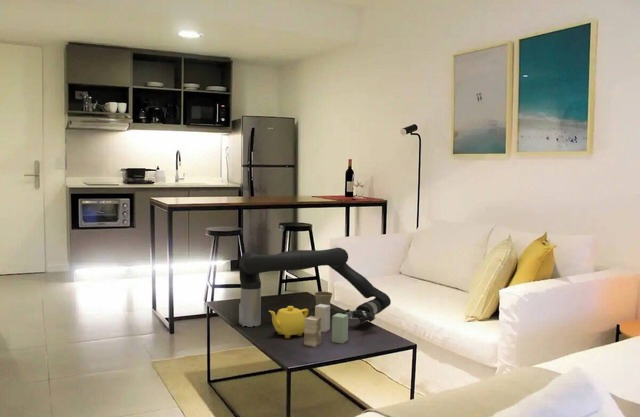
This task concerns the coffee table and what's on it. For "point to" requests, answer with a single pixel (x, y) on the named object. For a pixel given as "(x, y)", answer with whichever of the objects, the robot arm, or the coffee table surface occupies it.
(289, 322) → the teapot
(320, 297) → the flower pot
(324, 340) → the coffee table surface
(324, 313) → the offwhite pillar
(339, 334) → the sage pillar
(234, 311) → the coffee table surface
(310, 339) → the birch pillar
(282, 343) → the coffee table surface
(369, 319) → the robot arm
